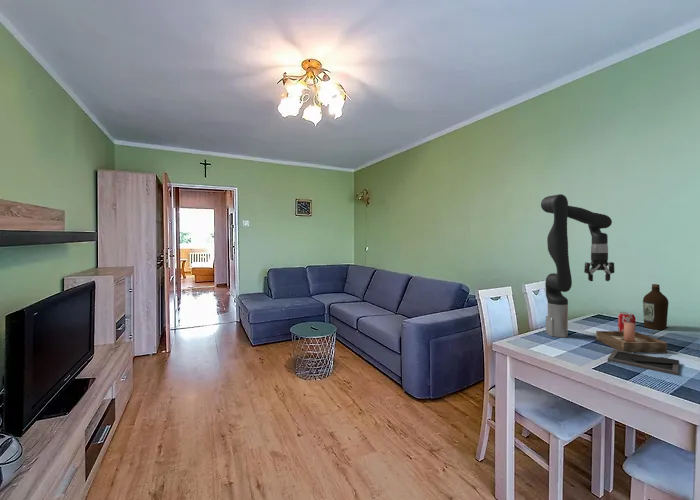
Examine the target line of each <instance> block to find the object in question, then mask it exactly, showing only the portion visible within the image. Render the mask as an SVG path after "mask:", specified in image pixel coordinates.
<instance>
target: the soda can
mask: <svg viewBox="0 0 700 500" xmlns="http://www.w3.org/2000/svg"><path fill="white" fill-rule="evenodd" d="M624 322H630V323H634V324H635V325H636V316H635V314H634V313H633V312H629V311H627V312H626V311H620V312H619V313H618V316H617V331H624Z"/></svg>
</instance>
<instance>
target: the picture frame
mask: <svg viewBox="0 0 700 500" xmlns="http://www.w3.org/2000/svg"><path fill="white" fill-rule="evenodd" d="M609 354H610V355H609V356H608V358H607V362H611V361H612V362H611V363H615V362H616V364H620V365H627V366H630V367H631V366H632V367H635V368H640V369H645V370H649V371H654V372H660V373H663V374H669V375H674V376H679V368H680V359H674V358H670V357H663V356H661V357H660V356H653V355H647V354H643V353H632V352H626V351H621V350H617V349H615V348H613V350H612V351H611V353H609Z"/></svg>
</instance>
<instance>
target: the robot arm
mask: <svg viewBox="0 0 700 500" xmlns="http://www.w3.org/2000/svg"><path fill="white" fill-rule="evenodd" d="M540 207H541V209H542V211H543V212H545V213H547V214H548V213H549V214H553V224H552V226H551V228H550V230H549V231H548V234H547V239H546V241H547V242H546V243H547V244H546V245H547V251H548V254H549V255H550V257H551V259H552V260H553V262H554V265H555V267H556V273H555V272H554V273H549V274H548V275H547V276H546V278H545V285H544V286H545V297H546V299H547V300H546V301H547V315H546V316H545V334H547V335H549V336H550V337H556V338H567V337H568V336H569V335H568V334H569V330H568V329H569V327H568V326H569V300H568V298H567V297H566V296H565V295H563V293H567V292H569V291H570V290H571V288H572V286H573V285H572V284H573V283H572V282H573V281H572V273H571V267H570V257H569V239H568V219H571V220H574V221H577V222H579V223H583V224H584V225H587V227H588V229H589V230H588V231H589V232H590V235H591V246H590V260H591V261H590V262H588V261H587V262H584V270H583V273H584V274H587V277H588V278H587V279H588V281H589V282H593V281H594V272H596V271H603V272H604V273H605V275H604V278H605V281H606V282H610V280H611V275H612V274H614V273H615V262H612V261H610V262H609V246H608V239H609V238H608V237H609V236H608V233H606V232H602V231H601V229H607V228H609V227H611V226H612V223H613V220H612V219H611V217H610V216H609V215H607V214H603V213H599V212H593V211H592V210H589V209H585V208H583V207H578V206H572V205H569V200H568V198H567V196H566V195H564V194H562V193H561V194H553V195H548V196H545V197H544V198H543V199H542V200H541V202H540Z"/></svg>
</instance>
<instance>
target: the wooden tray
mask: <svg viewBox="0 0 700 500" xmlns="http://www.w3.org/2000/svg"><path fill="white" fill-rule="evenodd" d="M595 340H596V341H598V342H600V343H602V344H605V345H606V346H609V347H611V348H613V349H616V350H621V351H626V352H641V353H640V354H643V353H644V354H645V353H650V354H653V353H655V354H667V353H668V342H665V341H663V340H659V339H657V338H654V337H652V336H649V335H646V334H643V333H641V332H637V331H635V342H625V341H624V331H618V330H603V331H602V330H596V331H595ZM642 352H643V353H642Z"/></svg>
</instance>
